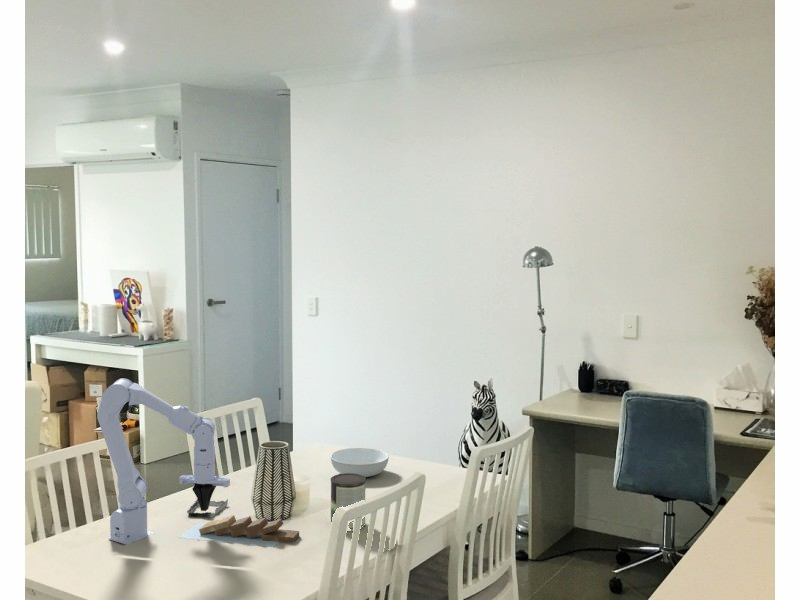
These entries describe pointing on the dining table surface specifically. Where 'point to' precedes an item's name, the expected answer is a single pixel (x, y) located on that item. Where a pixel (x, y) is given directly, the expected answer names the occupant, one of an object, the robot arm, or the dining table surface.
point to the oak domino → (217, 524)
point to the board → (225, 537)
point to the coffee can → (347, 492)
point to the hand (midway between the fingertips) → (204, 509)
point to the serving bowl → (359, 461)
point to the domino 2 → (251, 527)
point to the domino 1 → (235, 526)
